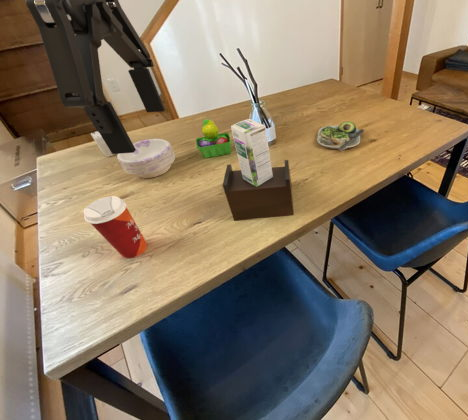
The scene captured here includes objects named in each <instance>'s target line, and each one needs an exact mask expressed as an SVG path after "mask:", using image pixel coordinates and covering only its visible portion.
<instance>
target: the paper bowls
mask: <svg viewBox="0 0 468 420" xmlns="http://www.w3.org/2000/svg"><path fill="white" fill-rule="evenodd" d="M132 144H133V145H134V147H135V149H136V150H135V152H134V153H121V154H116V155H117V156H116V158H117V160H118V162H119V164H120V166H121V167H122V169H123V171H124V172H125V173H126V174H129V175H132V176H137V177H140V178H144V179H151V178H155V177H159V176H162V175H164V174H165V173H167V172H168V171H169V170H170V168H171V166H172V164H173V163H174V162H175V160H176V154H175V152H174V149H173V147H172V145H171V142H169V141H168V140H166V139H162V138H148V139H143V140H139V141H136V142H132Z"/></svg>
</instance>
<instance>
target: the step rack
mask: <svg viewBox="0 0 468 420" xmlns="http://www.w3.org/2000/svg"><path fill="white" fill-rule="evenodd" d="M283 161H284V166H274V167H272V173H273V177H272V178H271V179H269V180H267V181H266V182H264V183H262V184H261V185H259V186H257V187H256V186H254V185H253V184H251V183H249V182H248V181H246V180H244V179H243V176H242V172H241V169H238V170H237V169H235V170H233V168H232V164H226V168H225V173H224V177H223V181H222V188H223V191H224V195H225V198H226V201H227V203H228V207H229V209H230V210H229V211H230V212H231V216H232V219H233V221H234V222H235V221H236V222H237V221H246V220H257V219H265V218H275V217H285V216H287V217H288V216H294V214H295V213H294V201H293V189H292V187H293V186H292V178H291V177H292V176H291V169H290V165H289V163H290V162H289V159H284V160H283Z"/></svg>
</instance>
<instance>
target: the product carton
mask: <svg viewBox="0 0 468 420" xmlns="http://www.w3.org/2000/svg"><path fill="white" fill-rule="evenodd" d="M90 135H91V137H92V139H93V140H94V142H95V144H96V145H97V147H98V148H99V150H100V151H101V153H102V154H103V155H104V156H105V157H106V158H108V157H112V156H114V155H116V154H112V153H111V151H110V149H109V148H108V146H107V145H106V143H105V141H104V140H103V138H102V136H101V135H100V133H99V132H98V131H97V130H96V131H93V132H91V133H90Z"/></svg>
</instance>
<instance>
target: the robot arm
mask: <svg viewBox="0 0 468 420" xmlns="http://www.w3.org/2000/svg"><path fill="white" fill-rule="evenodd" d="M25 4H26V5H25V6H26V7H27V8H28V10H29V12H30V14H31V16H32V19H33V20H34V22H35V24H36V26H37V28H38V30H39V35H40V37H41V41H42V43H43V47H44V50H45V53H46V56H47V59H48V63H49V66H50V69H51V72H52V76H53V79H54V82H55V85H56V89H57V91H58V95H59V98H60V101H61V103H62V105H63V106H64V107H65V108H67V109H69V108H73V109H74V108H81V109H83V110H84V112H85V113H86V115H87V117H88V118H89V120H90V121H91V123H92V125H93V126H94V128H95V130H96V132H97V131H98V132H99V133H100V135H101V136H102V138H103V140H104V141H105V143H106V145H107V146H108V148H109V149H110V151H111V153H112V154H115V155H118V154H121V153H134V152H135V150H136V149H135V147H134V145H133V141H132V140H131V138H130V136H129V134H128V133H127V130H126V129H125V127H124V125H123V123H122V121H121V120H120V117H119V115H118V114H117V112H116V110H115V108H114V106H113V105H112V102H111V101H105V97H104V96H105V95H104V89H103V80H102V72H101V65H100V57H99V56H100V55H99V49H100V48H101V46H102V45H103V44H102V43H103V42H102V41H104V42H105V43H106V44H107V45H108V46H109V47H110V48H111V49H112V50H113V51H114V52H115V53H116V54H117V55H118V57H120V58H121V60H122V61H123V62H124V63H125V64H126V65H127V66H129V68H130V69H129V70H128V75H129V76H130V78H131V80H132V82H133V84H134V85H133V86H134V88H135V89H136V91H137V93H138V96H139V98H140V101H141V102H142V105H143V107H144V109H145V112H146V113H158V112H165V110H166V109H165V106H164V103H163V102H162V98H161V96H160V94H159V91H158V89H157V86H156V84H155V81H154V79H153V76H152V74H151V72H150V70H149V68H154V66H155V65H154V61H153V60H152V58H151V54H150V52H149V51H148V49H147V47H146V45H145V44H144V42H143V41H142V39H141V37H140V36H139V34H138V32H137V30H136V29H135V28H134V25H133V24H132V23H131V21H130V19H129V18H128V16H127V14H126V13H125V11H124V9H123V8H122V5H121V3H120V2H119V0H25Z"/></svg>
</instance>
